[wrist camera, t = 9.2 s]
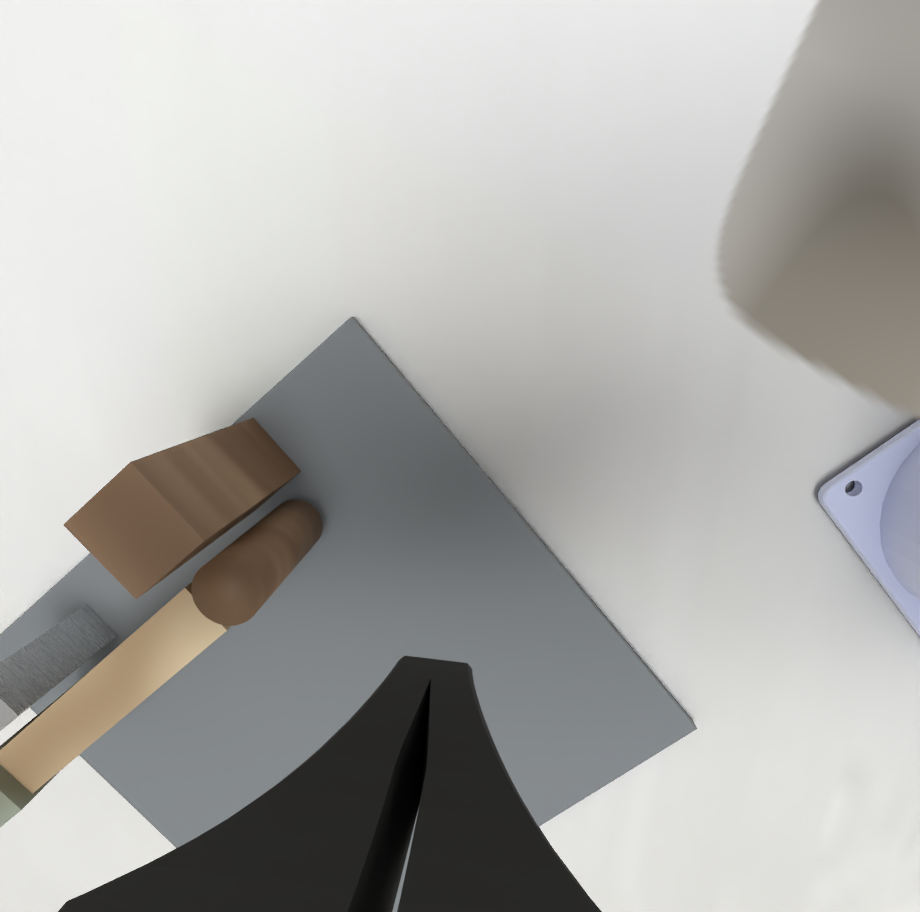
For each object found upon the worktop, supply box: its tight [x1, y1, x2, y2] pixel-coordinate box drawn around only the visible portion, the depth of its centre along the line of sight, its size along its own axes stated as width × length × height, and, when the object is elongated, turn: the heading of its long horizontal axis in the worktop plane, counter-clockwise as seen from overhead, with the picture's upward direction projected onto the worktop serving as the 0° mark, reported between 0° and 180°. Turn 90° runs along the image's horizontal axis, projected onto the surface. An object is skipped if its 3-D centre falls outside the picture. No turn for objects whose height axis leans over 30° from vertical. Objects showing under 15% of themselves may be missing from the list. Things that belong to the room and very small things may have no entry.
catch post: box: [0, 604, 118, 731], centre depth 19 cm, size 2×2×5 cm
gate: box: [0, 500, 323, 827], centre depth 18 cm, size 2×12×5 cm, turn 131°
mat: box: [0, 317, 697, 912], centre depth 22 cm, size 20×19×1 cm
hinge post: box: [64, 418, 301, 599], centre depth 17 cm, size 2×2×7 cm
